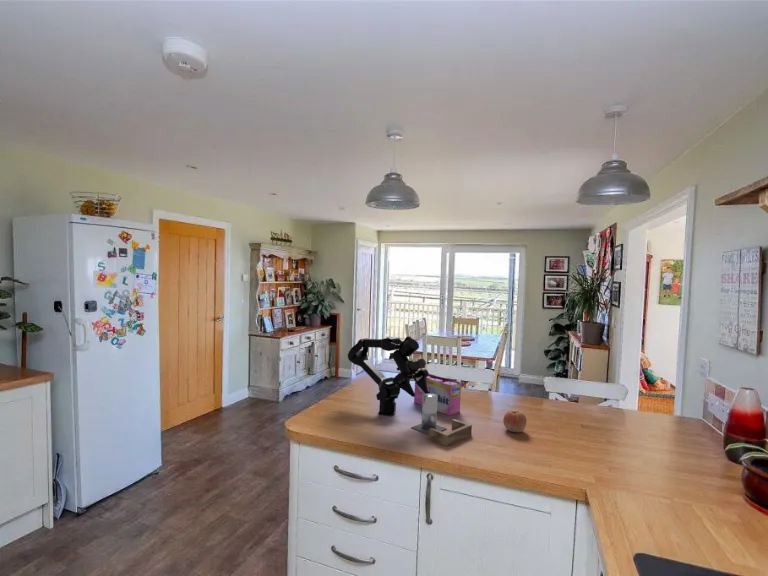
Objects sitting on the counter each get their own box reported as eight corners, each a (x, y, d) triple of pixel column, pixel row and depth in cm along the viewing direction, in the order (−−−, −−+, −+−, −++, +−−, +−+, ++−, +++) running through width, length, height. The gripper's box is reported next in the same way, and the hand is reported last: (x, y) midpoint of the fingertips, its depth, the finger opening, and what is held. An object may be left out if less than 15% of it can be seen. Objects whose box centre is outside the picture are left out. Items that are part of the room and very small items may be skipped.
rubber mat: (411, 428, 161) (411, 427, 161) (427, 422, 168) (427, 421, 168) (430, 435, 154) (430, 434, 154) (446, 429, 161) (446, 428, 161)
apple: (527, 436, 157) (528, 416, 157) (503, 433, 159) (504, 413, 159) (524, 428, 166) (525, 409, 165) (501, 425, 167) (502, 407, 167)
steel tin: (420, 429, 159) (421, 397, 159) (422, 424, 165) (423, 392, 165) (435, 431, 158) (436, 398, 157) (437, 426, 164) (438, 394, 163)
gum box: (411, 401, 196) (412, 374, 196) (422, 398, 201) (423, 372, 201) (449, 415, 178) (450, 385, 178) (460, 412, 183) (461, 382, 183)
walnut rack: (428, 439, 151) (429, 428, 151) (453, 428, 162) (454, 419, 162) (446, 446, 145) (447, 435, 145) (471, 435, 156) (471, 425, 156)
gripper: (401, 353, 161) (420, 387, 154) (427, 350, 175) (446, 382, 168) (384, 368, 166) (402, 402, 159) (411, 364, 180) (428, 395, 173)
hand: (420, 394), depth 165 cm, fingers open, 9 cm apart
